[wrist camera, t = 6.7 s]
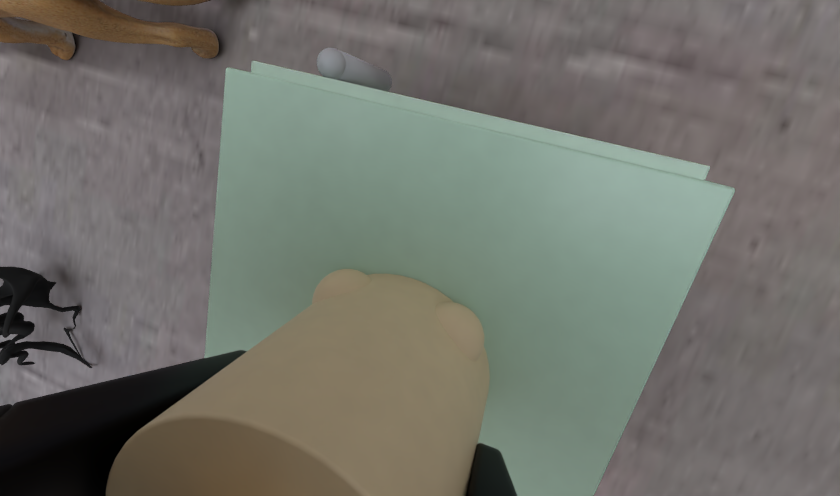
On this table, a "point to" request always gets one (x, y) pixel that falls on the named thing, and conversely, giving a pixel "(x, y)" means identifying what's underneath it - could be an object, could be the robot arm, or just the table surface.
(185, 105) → the table surface
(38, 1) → the lion figurine
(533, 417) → the toy fridge
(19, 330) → the creature
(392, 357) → the toy bear
